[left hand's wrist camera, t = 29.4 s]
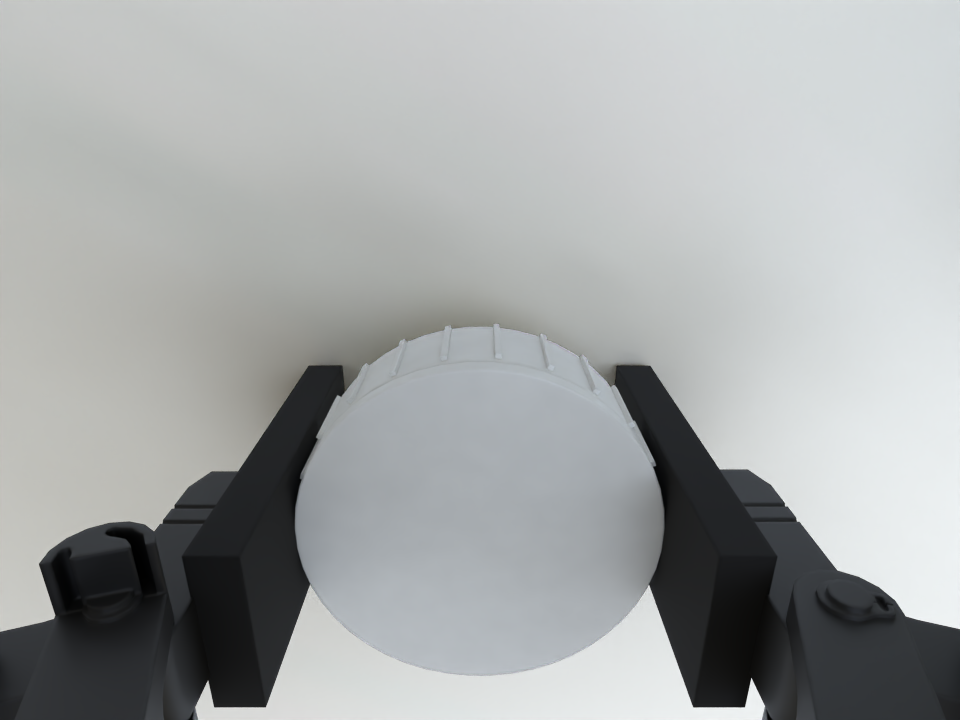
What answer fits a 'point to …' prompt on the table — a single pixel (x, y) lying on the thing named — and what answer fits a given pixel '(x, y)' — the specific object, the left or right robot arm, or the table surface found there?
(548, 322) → the table surface
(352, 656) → the table surface
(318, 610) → the table surface
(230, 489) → the left robot arm
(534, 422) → the lid
